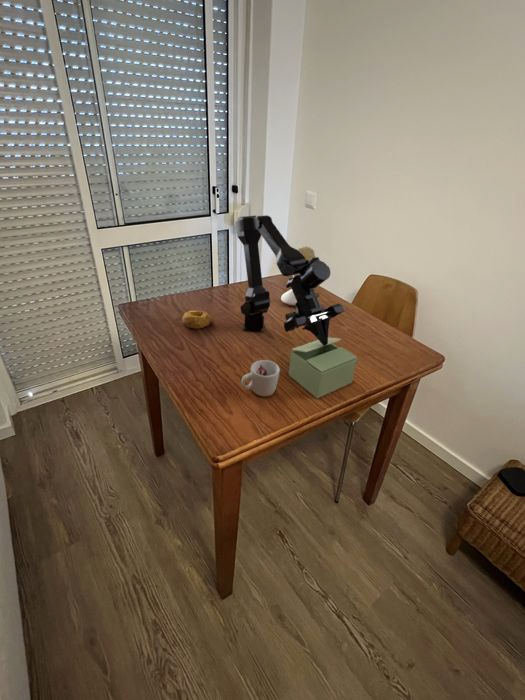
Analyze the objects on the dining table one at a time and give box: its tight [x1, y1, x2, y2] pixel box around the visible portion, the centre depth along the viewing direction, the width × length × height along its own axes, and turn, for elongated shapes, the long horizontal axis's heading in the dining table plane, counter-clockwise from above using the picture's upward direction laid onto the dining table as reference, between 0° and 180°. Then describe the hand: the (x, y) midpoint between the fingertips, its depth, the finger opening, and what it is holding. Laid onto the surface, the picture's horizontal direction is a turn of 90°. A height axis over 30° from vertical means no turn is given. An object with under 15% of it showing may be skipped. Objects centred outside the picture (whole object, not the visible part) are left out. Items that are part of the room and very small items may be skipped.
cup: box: [240, 359, 281, 397], centre depth 97 cm, size 11×8×8 cm
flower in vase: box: [280, 245, 317, 307], centre depth 145 cm, size 13×11×25 cm
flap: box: [291, 336, 342, 352], centre depth 103 cm, size 6×14×1 cm, turn 125°
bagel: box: [181, 310, 213, 330], centre depth 130 cm, size 10×11×5 cm
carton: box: [288, 343, 358, 399], centre depth 104 cm, size 13×14×9 cm
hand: (325, 345), depth 100 cm, fingers closed
